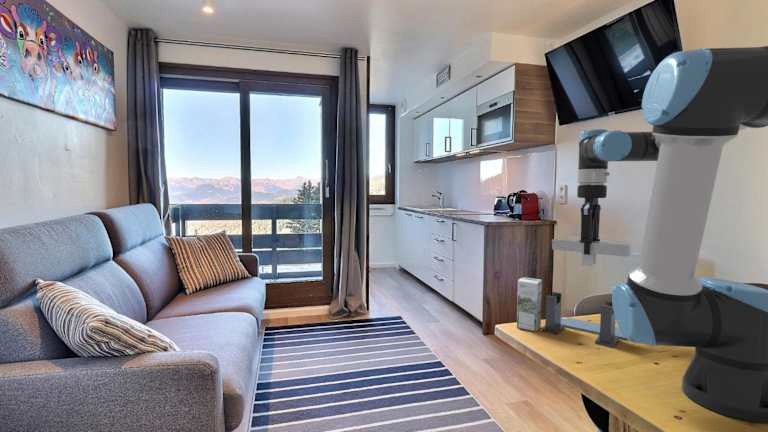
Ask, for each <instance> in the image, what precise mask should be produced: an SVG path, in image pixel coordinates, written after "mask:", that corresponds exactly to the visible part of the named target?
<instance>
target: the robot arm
mask: <svg viewBox="0 0 768 432" xmlns="http://www.w3.org/2000/svg"><path fill="white" fill-rule="evenodd" d="M641 109H642V113H641V114H642V117H643V119H644V121H645V122H646V123H647V124H649V125H651V126H652V131H622V130H619V129H618V130H608V129H603V128H595V129H588V130H587V129H585V130H582V131H581V132H580V133H579V141H578V170H577V171H578V172H577V183H578V185H577V190H576V191H577V192H576V193H577V194H576V195H577V198H581V199H584V202H583V204H582V205H581V207H580V213H581V214H580V216H581V217H580V221H581V222H580V226H581V227H580V240H581V241H580V240H579V239H578V240H579V242H580V243H583V245H582V252H581V266H586V267H593V266H594V265H596V264H597V254H595V253H593V242H601V238H600V235H599V234H600V219H601V209H602V206H601V204H599V199H606V198H607V197H608V196H607V192H608V188H607V187H608V186H607V185H606V183H607V182H608V177H609V176H610V175H611V174H610V172H609V171H608V169H609V167H608V166H609V163H610V162H656V168H655V173H654V178H653V184H652V185H653V186H652V190H651V191H652V192H651V197H650V201H649V202H650V203H649V208H648V213H647V219H646V225H645V231H644V237H643V243H642V250H641V255H640V261H639V265H637V266H635V267H633V268H631V269H630V270H629V271H628V276H627V282H620V283H617V284H615V285H614V287H613V289H612V293H611V301H612V305H613V311H614V315H615V319H616V320H615V323H616V324H617V327H619V329H620V331H621V332H622V334H623V335H624V336H625V337H626V339H627V340H628V341H629V342H631V343H634V344H638V345H639V344H641V345H649V346H650V347H655V346H664V347H683V348H694V355H693V357H692V359H691V361H690V362H689V363H688V364H689V365H688V366H687V368H686V369H685V372H684V374H683V375H682V381H681V390H682V392H683V394H685V396H686V397H688V398H689V399H691V401H693V402H695V403H696V404H698V405H700V406H702V407H704V408H706V409H709V410H710V411H713V412H716V413H719V414H720V415H724V416H727V417H730V418H734V419H737V420H743V421H748V422H754V423H760V424H761V423H762V424H763V423H764V424H768V289H765V288H762V287H760V286H756V285H752V284H747V283H742V282H738V281H733V280H728V279H722V278H716V277H710V276H709V277H708V276H707V277H705V276H704V277H701V278H699V280H698V278H697V277H696V276H695V275H696V270H697V265H698V260H699V256H700V252H701V248H702V243H703V237H704V234H705V230H706V226H707V225H706V224H707V220H708V216H709V212H710V206H711V202H712V197H713V192H714V189H715V183H716V181H717V174H718V169H719V166H720V160H721V156H722V152H723V148H724V146H725V145H726V144H727V143H729V142H731V141H732V140H735V138H736V137H738V135H739V132H741V131H742V130H745V129H747V128H749V129H759V128H766V127H768V45H767V46H752V47H751V46H749V47H717V48H716V47H715V48H714V47H712V48H709V47H708V48H701V47H700V48H699V49H691V50H682V51H681V50H680V51H677V52H674V53H671V54H670V55H668V56H666V57H665V58H664V59H663V60H662V61H661V62H659V64H657V66H656V68H654V70H653V71H652V73H651V75H650V77H649V78H648V80H647V83H646V85H645V88H644V91H643V95H642V101H641Z"/></svg>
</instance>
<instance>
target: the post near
mask: <svg viewBox="0 0 768 432" xmlns="http://www.w3.org/2000/svg"><path fill="white" fill-rule="evenodd" d="M604 301H605V303H604V304H601V305H600V320H599V321H600V323H599V324H600V334H598V337H596V339H595V341H594V343H595V344H596V345H600V346H605V347H607V348H608V347H610V348H615V347H616V345H617V343H618V342H619V341H620V339H619V337H617V336H615V327H616V319H615V315H614V311H613V305H612V300H604Z"/></svg>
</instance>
